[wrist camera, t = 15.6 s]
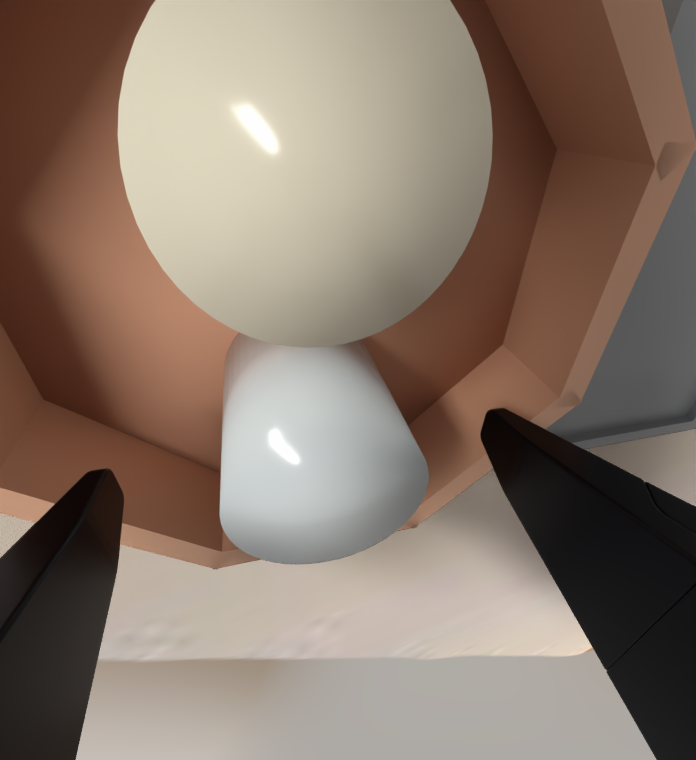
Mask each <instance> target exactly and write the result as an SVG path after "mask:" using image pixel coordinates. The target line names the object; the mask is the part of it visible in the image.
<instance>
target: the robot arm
mask: <svg viewBox="0 0 696 760" xmlns="http://www.w3.org/2000/svg"><path fill="white" fill-rule="evenodd" d="M480 437H481V441H482V444H483V446H484V448H485V451H486V453H487V455H488V457H489V460H490V462H491V464H492V467H493V469H494V471H495V473H496V476H497V478H498V480H499V483H500V485H501V487H502V489H503V491H504V493H505V495H506V497H507V498H508V500H509V502H510V504H511V505H512V507H513V509H514V511H515V512H516V514H517V516H518V518H519V519H520V521H521V523H522V525H523V526H524V528H525V530H526V532H527V533H528V535H529V537H530V539H531V540H532V542H533V544H534V546H535V547H536V549H537V551H538V553H539V554H540V556H541V558H542V560H543V561H544V563H545V565H546V567H547V568H548V570H549V572H550V574H551V575H552V577H553V579H554V581H555V582H556V584H557V586H558V588H559V589H560V591H561V593H562V595H563V596H564V598H565V600H566V602H567V603H568V605H569V607H570V609H571V610H572V612H573V614H574V616H575V617H576V619H577V621H578V623H579V624H580V626H581V628H582V630H583V631H584V633H585V635H586V637H587V638H588V640H589V642H590V644H591V645H592V647H593V649H594V651H595V652H596V654H597V656H598V658H599V659H600V661H601V663H602V664H603V666H604V668H605V669H606V670H607V673H608V675H609V677H610V679H611V681H612V682H613V684H614V686H615V688H616V689H617V691H618V693H619V695H620V696H621V698H622V700H623V702H624V703H625V705H626V707H627V709H628V710H629V712H630V714H631V715H632V717H633V719H634V721H635V722H636V724H637V726H638V728H639V730H640V731H641V733H642V735H643V737H644V738H645V740H646V742H647V743H648V745H649V747H650V749H651V750H652V752H653V754H654V756H655V758H656V759H657V760H696V507H695V506H693V505H691V504H689V503H687V502H685V501H683V500H681V499H679V498H677V497H675V496H673V495H671V494H669V493H667V492H665V491H663V490H661V489H659V488H658V487H656V486H654V485H652V484H650V483H648V482H645V483H644V481H643V480H642V479H640V478H638V477H636V476H634V475H632V474H630V473H629V472H627V471H625V470H623V469H621V468H619V467H617V466H615V465H613V464H611V463H609V462H607V461H605V460H603V459H602V458H600V457H598V456H596V455H594V454H592V453H590V452H588V451H586V450H584V449H582V448H580V447H578V446H577V445H575V444H573V443H571V442H569V441H567V440H565V439H563V438H561V437H559V436H557V435H555V434H553V433H552V432H550V431H548V430H546V429H544V428H542V427H540V426H538V425H536V424H534V423H532V422H530V421H528V420H527V419H525V418H523V417H521V416H519V415H517V414H515V413H513V412H511V411H509V410H507V409H505V408H495V409H490V410H488V411H487V412H486V414H485V418H484V422H483V425H482V429H481V433H480ZM123 509H124V494H123V491H122V489H121V487H120V485H119V483H118V481H117V479H116V477H115V475H114V473H113V471H112V470H111V469H109V468H104V469H98V470H91V471H89V472H87V473H86V474H85V475H84V476H83V477H82V478H81V479H80V480H79V481H78V482H77V483H75V484H74V485H73V486H72V487H71V488H70V489H69V490H68V491H67V492H66V493H65V494H64V495H63V496H62V497H61V498H60V499H59V500H58V501H57V502H56V503H55V504H54V505H53V506H52V507H51V508H50V509H49V510H48V511H47V512H46V513H45V514H44V515H43V516H42V517H41V518H40V519H39V520H38V521H37V522H36V523H35V524H34V525H33V526H32V527H31V528H30V529H29V530H28V531H27V532H26V533H25V534H24V535H23V536H22V537H21V538H20V539H19V540H18V541H17V542H16V543H15V544H14V545H13V546H12V547H11V548H10V549H9V550H8V551H7V552H6V553H5V554H4V555H3V556H2V557H1V558H0V760H75V759H76V755H77V750H78V745H79V741H80V736H81V732H82V727H83V723H84V719H85V714H86V709H87V705H88V700H89V695H90V691H91V687H92V682H93V678H94V673H95V669H96V664H97V660H98V655H99V651H100V646H101V642H102V637H103V633H104V628H105V624H106V619H107V615H108V610H109V606H110V601H111V597H112V592H113V588H114V583H115V578H116V573H117V568H118V560H119V550H120V540H121V530H122V519H123Z"/></svg>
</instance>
